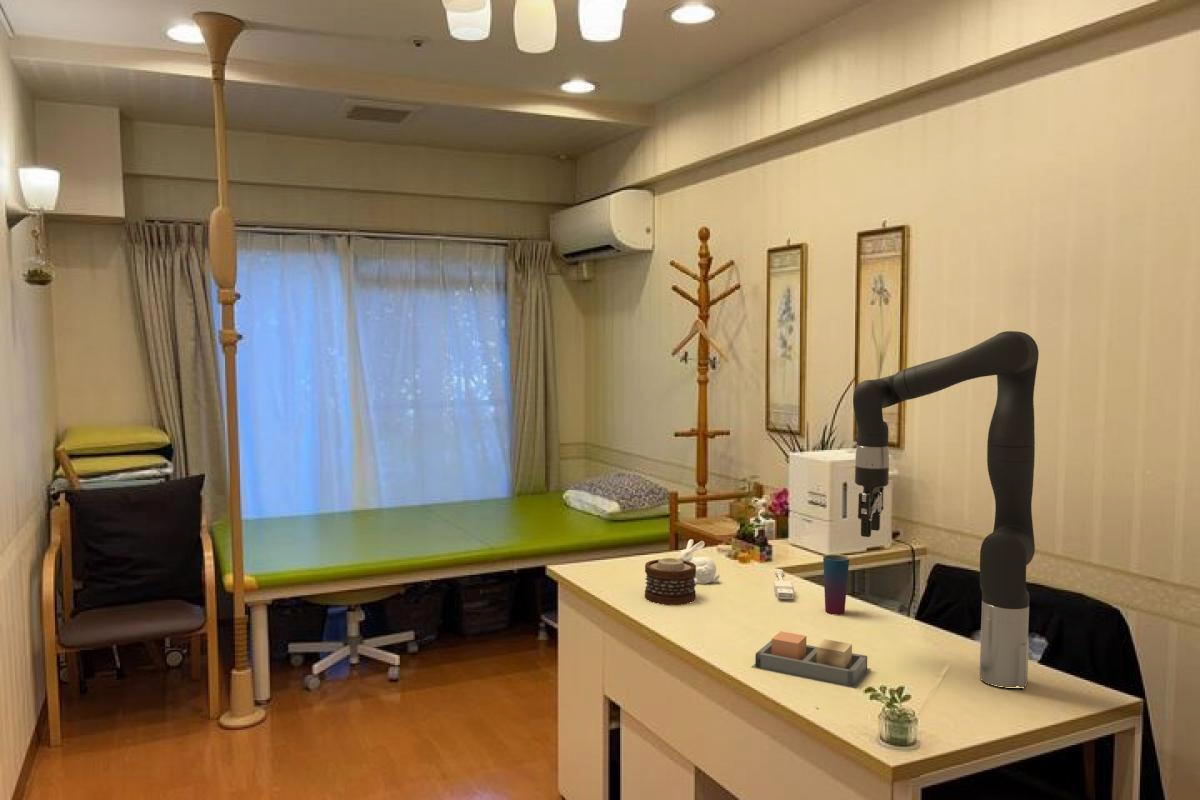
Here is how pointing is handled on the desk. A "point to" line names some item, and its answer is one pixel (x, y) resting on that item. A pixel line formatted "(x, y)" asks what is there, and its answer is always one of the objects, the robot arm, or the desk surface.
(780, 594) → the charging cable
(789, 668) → the pocket tray
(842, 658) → the oak cube
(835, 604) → the cup
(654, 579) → the spiked roller
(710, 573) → the rabbit
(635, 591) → the desk surface
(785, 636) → the terracotta cube
